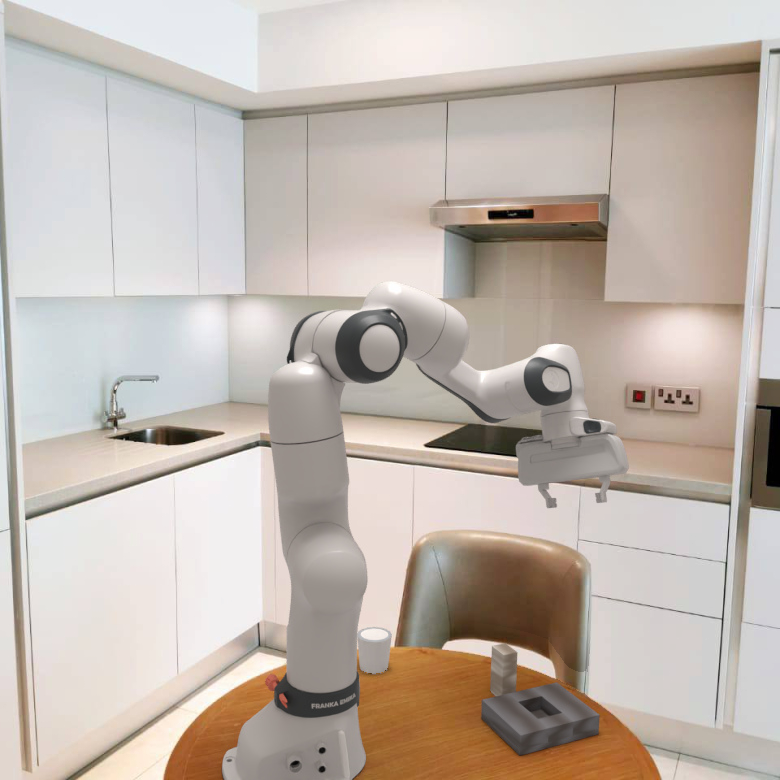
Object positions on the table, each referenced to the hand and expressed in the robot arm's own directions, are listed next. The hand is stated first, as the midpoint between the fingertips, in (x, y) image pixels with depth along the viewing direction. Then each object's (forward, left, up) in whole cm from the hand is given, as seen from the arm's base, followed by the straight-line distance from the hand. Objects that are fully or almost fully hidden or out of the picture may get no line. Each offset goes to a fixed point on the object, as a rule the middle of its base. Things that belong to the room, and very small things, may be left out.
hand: (576, 505), depth 143 cm
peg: (-12, +4, -36) cm, 38 cm away
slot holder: (-12, -8, -36) cm, 39 cm away
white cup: (-30, +23, -36) cm, 52 cm away
